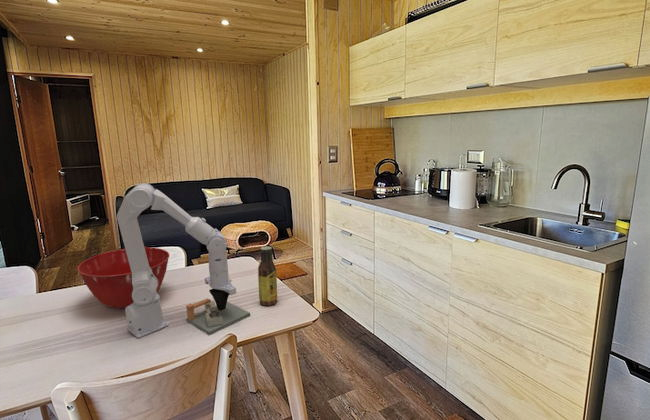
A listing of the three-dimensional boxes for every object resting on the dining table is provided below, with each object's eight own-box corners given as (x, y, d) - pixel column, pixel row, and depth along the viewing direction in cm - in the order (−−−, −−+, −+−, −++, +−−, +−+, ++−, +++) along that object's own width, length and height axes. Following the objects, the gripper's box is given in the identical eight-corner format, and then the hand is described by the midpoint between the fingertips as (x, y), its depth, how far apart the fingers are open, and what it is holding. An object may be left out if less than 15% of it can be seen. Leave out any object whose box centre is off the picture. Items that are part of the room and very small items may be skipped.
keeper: (190, 320, 116) (189, 306, 115) (187, 318, 117) (186, 305, 116) (211, 311, 121) (210, 298, 120) (208, 309, 123) (207, 296, 122)
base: (209, 335, 109) (207, 317, 108) (186, 320, 118) (184, 304, 116) (250, 315, 120) (249, 299, 119) (226, 303, 129) (225, 288, 127)
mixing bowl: (187, 284, 145) (183, 247, 142) (146, 321, 118) (140, 276, 114) (119, 282, 148) (114, 246, 145) (63, 318, 120) (55, 274, 117)
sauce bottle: (274, 307, 126) (271, 251, 121) (256, 306, 127) (253, 250, 123) (280, 298, 132) (277, 245, 128) (263, 297, 133) (260, 244, 129)
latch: (222, 323, 113) (222, 316, 113) (207, 327, 111) (207, 319, 111) (216, 307, 124) (215, 300, 123) (202, 310, 122) (202, 303, 121)
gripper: (242, 271, 116) (245, 311, 119) (216, 261, 125) (219, 298, 128) (223, 278, 111) (227, 319, 114) (197, 267, 120) (201, 305, 123)
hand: (221, 309), depth 121 cm, fingers closed
